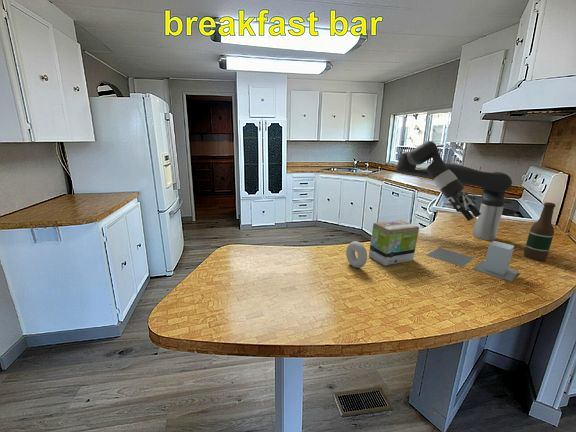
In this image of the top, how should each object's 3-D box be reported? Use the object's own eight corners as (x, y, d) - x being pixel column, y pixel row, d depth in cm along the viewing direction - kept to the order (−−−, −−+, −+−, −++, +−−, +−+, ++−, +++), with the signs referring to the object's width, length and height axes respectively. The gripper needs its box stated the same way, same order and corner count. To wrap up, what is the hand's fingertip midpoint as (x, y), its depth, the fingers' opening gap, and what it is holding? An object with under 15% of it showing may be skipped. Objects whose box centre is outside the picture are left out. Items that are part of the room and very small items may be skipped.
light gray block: (483, 269, 108) (489, 244, 105) (487, 264, 112) (493, 240, 109) (503, 275, 103) (510, 249, 101) (507, 270, 107) (514, 245, 105)
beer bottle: (550, 262, 118) (568, 206, 112) (529, 260, 119) (545, 204, 113) (538, 254, 125) (554, 201, 119) (518, 253, 127) (533, 200, 120)
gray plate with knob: (472, 270, 108) (474, 261, 107) (481, 261, 116) (483, 253, 115) (510, 282, 100) (513, 273, 99) (518, 272, 107) (520, 263, 106)
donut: (367, 271, 104) (370, 246, 101) (360, 273, 102) (363, 247, 99) (350, 260, 112) (352, 237, 110) (343, 262, 111) (345, 238, 108)
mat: (425, 256, 120) (425, 255, 120) (438, 248, 129) (439, 247, 129) (462, 267, 110) (462, 266, 110) (473, 258, 119) (474, 257, 119)
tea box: (385, 267, 108) (390, 230, 104) (368, 256, 117) (372, 222, 113) (414, 261, 114) (420, 225, 110) (395, 251, 123) (400, 219, 119)
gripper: (447, 187, 122) (472, 219, 117) (433, 191, 113) (459, 226, 108) (463, 176, 117) (490, 209, 112) (449, 179, 108) (478, 215, 102)
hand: (474, 217), depth 110 cm, fingers open, 8 cm apart
